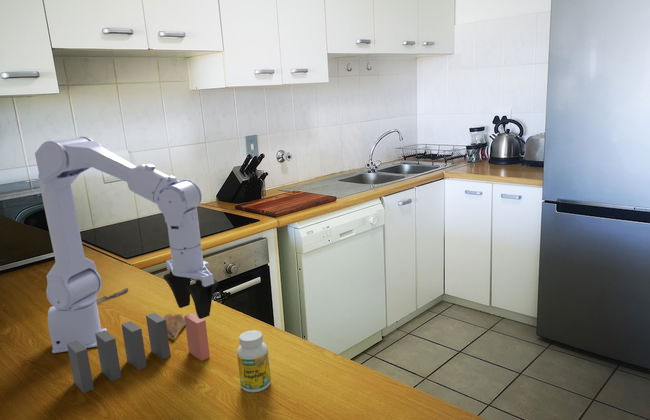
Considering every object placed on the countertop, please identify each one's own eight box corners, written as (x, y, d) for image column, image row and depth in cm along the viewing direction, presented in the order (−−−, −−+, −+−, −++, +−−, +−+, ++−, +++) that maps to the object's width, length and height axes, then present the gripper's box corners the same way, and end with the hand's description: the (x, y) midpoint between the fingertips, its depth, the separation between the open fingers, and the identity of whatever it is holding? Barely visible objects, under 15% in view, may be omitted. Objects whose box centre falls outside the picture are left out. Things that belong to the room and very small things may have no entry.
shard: (174, 343, 105) (173, 336, 105) (140, 344, 106) (139, 336, 106) (192, 320, 116) (191, 313, 115) (161, 321, 117) (160, 313, 116)
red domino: (201, 360, 97) (197, 323, 95) (188, 352, 100) (184, 316, 99) (209, 357, 98) (205, 320, 96) (196, 349, 102) (192, 313, 100)
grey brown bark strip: (82, 305, 128) (89, 311, 125) (81, 301, 128) (88, 307, 125) (126, 290, 136) (134, 295, 133) (125, 286, 136) (133, 291, 132)
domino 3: (138, 370, 95) (132, 331, 93) (127, 361, 98) (121, 324, 96) (147, 366, 96) (141, 328, 94) (136, 357, 99) (130, 321, 98)
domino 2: (111, 381, 91) (105, 341, 90) (101, 371, 95) (95, 333, 93) (121, 377, 93) (115, 338, 91) (111, 367, 96) (104, 330, 94)
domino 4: (162, 359, 98) (157, 322, 96) (151, 351, 102) (145, 315, 100) (170, 356, 99) (165, 319, 97) (159, 348, 103) (154, 312, 101)
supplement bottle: (269, 374, 91) (264, 326, 89) (272, 390, 86) (268, 339, 84) (239, 379, 90) (234, 330, 88) (241, 395, 85) (236, 345, 83)
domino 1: (83, 393, 88) (76, 352, 86) (74, 382, 92) (66, 343, 90) (94, 389, 89) (86, 348, 87) (84, 378, 93) (77, 339, 91)
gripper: (224, 246, 92) (231, 314, 95) (185, 234, 102) (193, 295, 105) (190, 256, 87) (199, 327, 90) (153, 242, 97) (162, 306, 100)
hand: (193, 311), depth 97 cm, fingers open, 7 cm apart
